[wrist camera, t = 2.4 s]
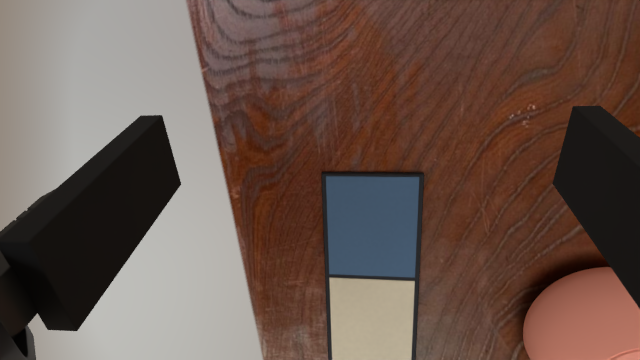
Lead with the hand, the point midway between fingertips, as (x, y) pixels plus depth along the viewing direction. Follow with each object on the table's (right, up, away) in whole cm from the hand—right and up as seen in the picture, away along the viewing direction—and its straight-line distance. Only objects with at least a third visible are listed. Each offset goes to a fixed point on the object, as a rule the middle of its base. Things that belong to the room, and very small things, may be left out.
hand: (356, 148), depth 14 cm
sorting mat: (+4, -10, +25) cm, 27 cm away
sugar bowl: (+23, -14, +24) cm, 36 cm away
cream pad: (+4, -15, +27) cm, 31 cm away
